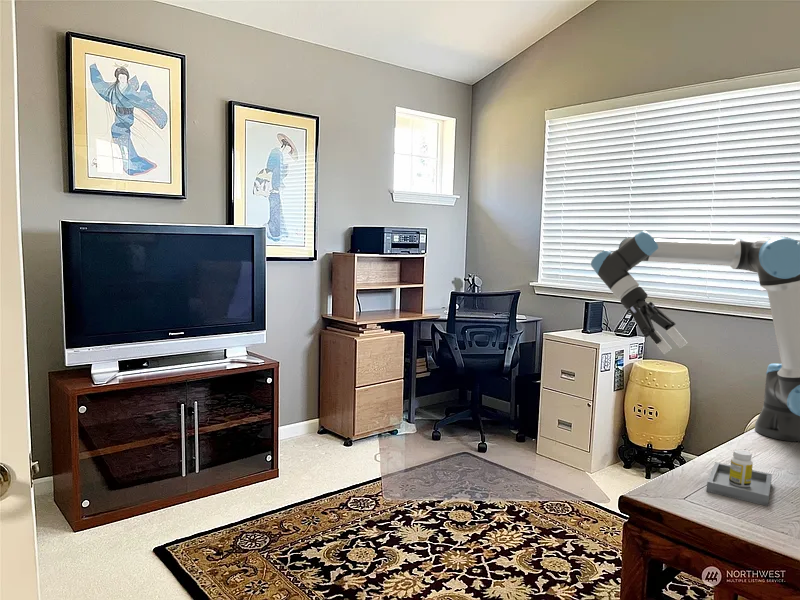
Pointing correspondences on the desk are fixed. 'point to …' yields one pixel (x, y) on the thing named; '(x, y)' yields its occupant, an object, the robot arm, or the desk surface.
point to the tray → (754, 493)
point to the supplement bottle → (741, 468)
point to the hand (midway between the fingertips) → (676, 348)
